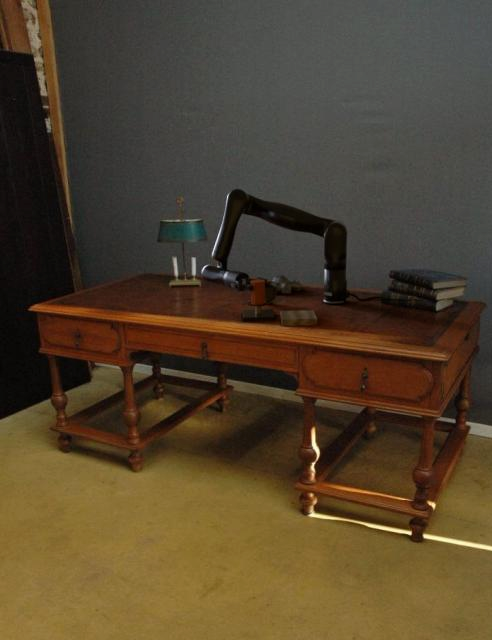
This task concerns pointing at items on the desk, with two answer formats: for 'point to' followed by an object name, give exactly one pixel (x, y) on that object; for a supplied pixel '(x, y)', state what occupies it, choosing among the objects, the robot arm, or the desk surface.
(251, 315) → the hat stand
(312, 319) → the grey stone tile
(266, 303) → the hat
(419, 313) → the desk surface
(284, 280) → the fossil
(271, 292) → the dark ridged round part
